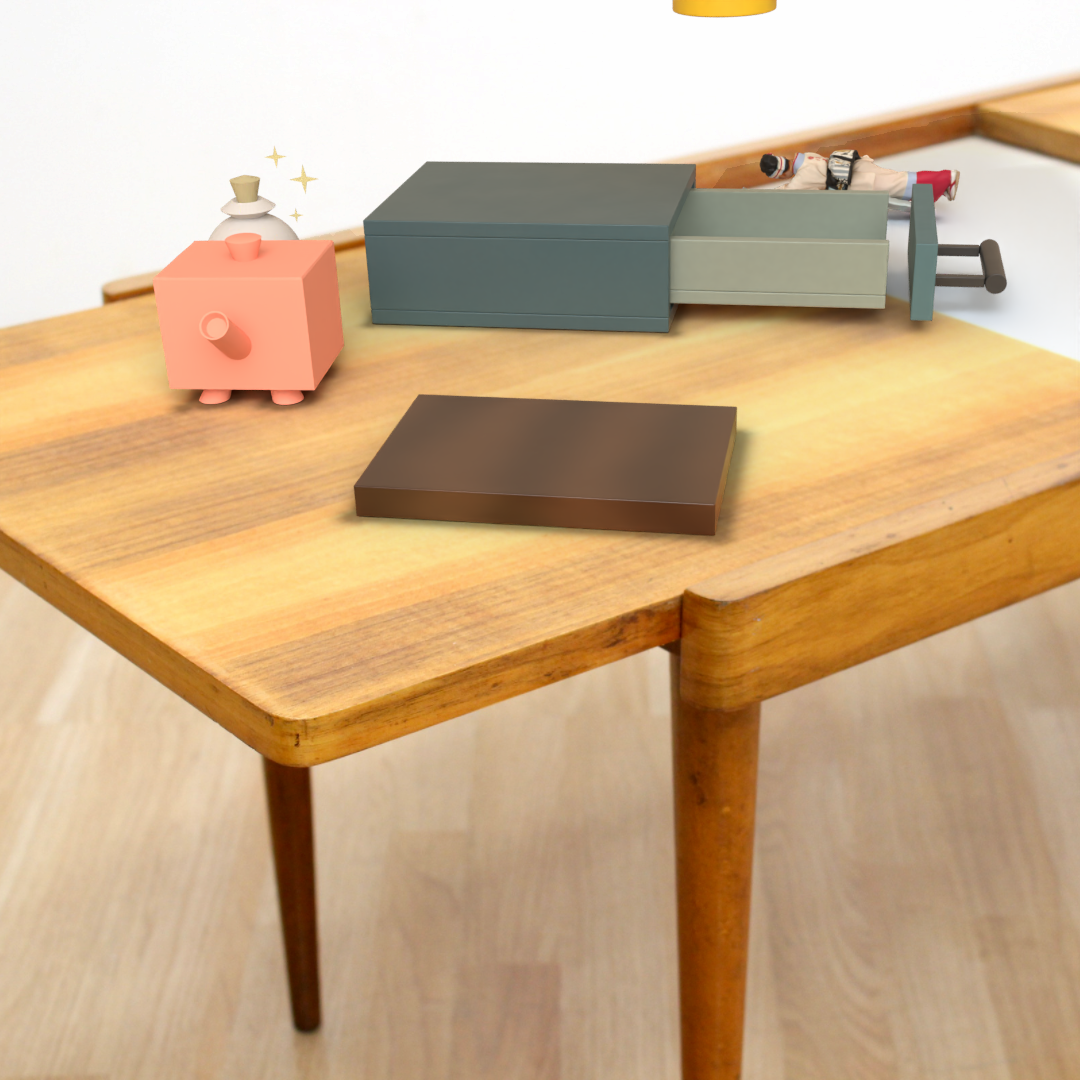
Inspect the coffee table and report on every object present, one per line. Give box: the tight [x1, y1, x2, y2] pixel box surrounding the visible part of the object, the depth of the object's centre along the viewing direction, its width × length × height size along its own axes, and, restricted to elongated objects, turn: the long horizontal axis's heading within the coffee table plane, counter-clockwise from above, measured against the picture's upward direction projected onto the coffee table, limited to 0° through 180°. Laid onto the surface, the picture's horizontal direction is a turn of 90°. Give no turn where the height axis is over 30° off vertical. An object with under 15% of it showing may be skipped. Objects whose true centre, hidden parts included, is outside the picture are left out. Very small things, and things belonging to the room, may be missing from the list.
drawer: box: [670, 184, 1008, 322], centre depth 92 cm, size 21×13×4 cm, turn 79°
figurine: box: [742, 149, 961, 213], centre depth 110 cm, size 6×8×15 cm
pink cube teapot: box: [152, 233, 345, 406], centre depth 82 cm, size 8×12×8 cm, turn 173°
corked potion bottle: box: [207, 145, 318, 241], centre depth 94 cm, size 6×7×10 cm
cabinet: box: [362, 160, 697, 333], centre depth 96 cm, size 18×14×6 cm
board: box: [353, 393, 738, 536], centre depth 72 cm, size 16×11×2 cm
